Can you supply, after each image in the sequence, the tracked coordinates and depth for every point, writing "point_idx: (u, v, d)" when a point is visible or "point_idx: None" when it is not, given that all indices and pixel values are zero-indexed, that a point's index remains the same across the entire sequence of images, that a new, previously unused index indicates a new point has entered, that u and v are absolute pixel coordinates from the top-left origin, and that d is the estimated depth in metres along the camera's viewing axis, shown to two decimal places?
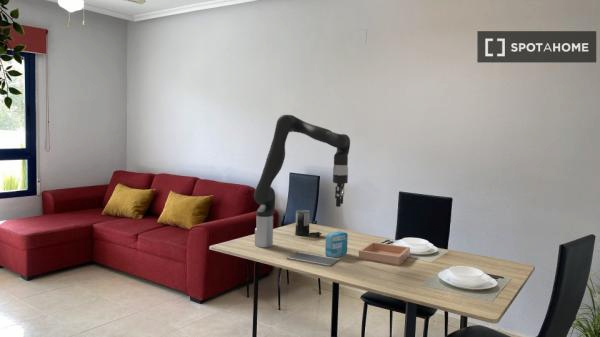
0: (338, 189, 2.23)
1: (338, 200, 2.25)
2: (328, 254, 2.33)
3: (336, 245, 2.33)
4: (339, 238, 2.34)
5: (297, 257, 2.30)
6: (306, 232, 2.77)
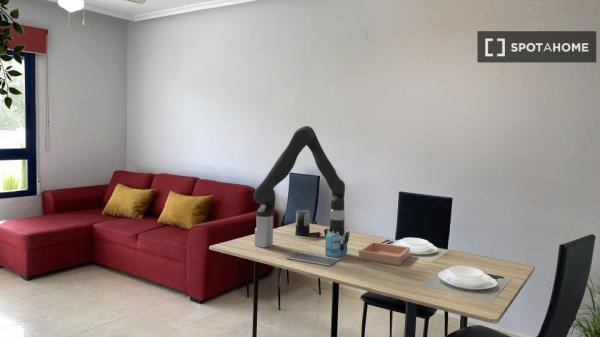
0: (348, 234, 2.33)
1: (344, 244, 2.34)
2: (328, 254, 2.33)
3: (336, 245, 2.33)
4: None
5: (297, 257, 2.30)
6: (306, 232, 2.77)
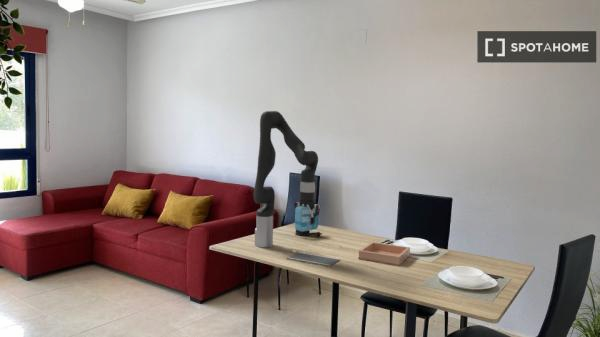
0: (319, 207, 2.25)
1: (314, 218, 2.27)
2: (298, 228, 2.25)
3: (306, 218, 2.25)
4: None
5: (297, 257, 2.30)
6: (306, 232, 2.77)
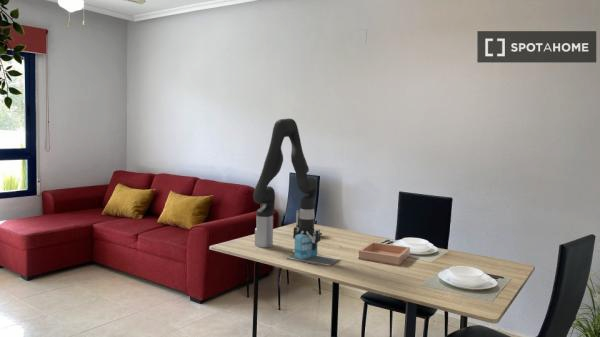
0: (319, 232, 2.26)
1: (315, 243, 2.28)
2: (297, 256, 2.26)
3: (305, 246, 2.27)
4: (309, 239, 2.28)
5: None
6: None
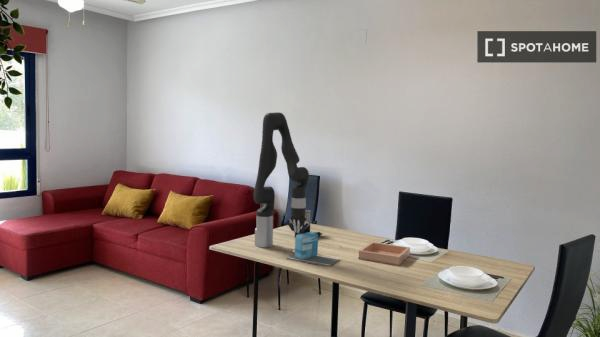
0: (307, 225, 2.29)
1: (300, 233, 2.31)
2: (297, 256, 2.26)
3: (306, 247, 2.27)
4: (309, 239, 2.28)
5: None
6: (307, 232, 2.77)
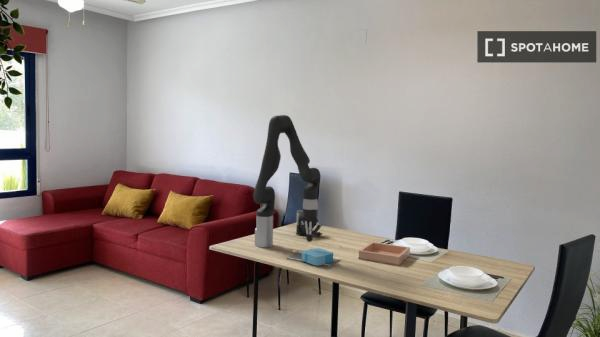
0: (320, 227, 2.26)
1: (312, 235, 2.28)
2: (302, 257, 2.24)
3: None
4: None
5: (297, 257, 2.30)
6: None
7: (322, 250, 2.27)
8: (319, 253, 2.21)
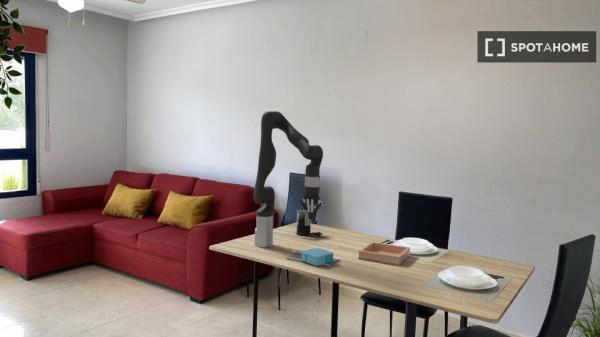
0: (321, 205, 2.24)
1: (313, 213, 2.27)
2: (302, 257, 2.24)
3: None
4: None
5: (297, 257, 2.30)
6: (307, 232, 2.77)
7: (322, 250, 2.27)
8: (319, 253, 2.21)
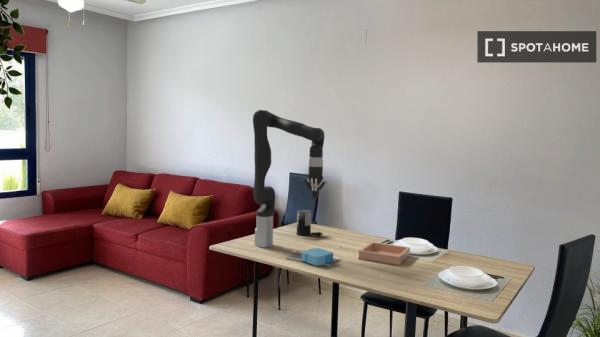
0: None
1: (317, 191, 2.42)
2: (302, 257, 2.24)
3: None
4: None
5: (297, 257, 2.30)
6: (307, 232, 2.77)
7: (322, 250, 2.27)
8: (319, 253, 2.21)
